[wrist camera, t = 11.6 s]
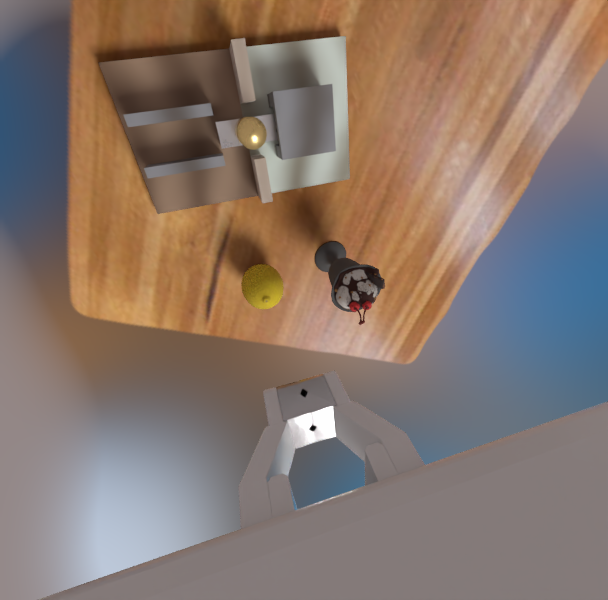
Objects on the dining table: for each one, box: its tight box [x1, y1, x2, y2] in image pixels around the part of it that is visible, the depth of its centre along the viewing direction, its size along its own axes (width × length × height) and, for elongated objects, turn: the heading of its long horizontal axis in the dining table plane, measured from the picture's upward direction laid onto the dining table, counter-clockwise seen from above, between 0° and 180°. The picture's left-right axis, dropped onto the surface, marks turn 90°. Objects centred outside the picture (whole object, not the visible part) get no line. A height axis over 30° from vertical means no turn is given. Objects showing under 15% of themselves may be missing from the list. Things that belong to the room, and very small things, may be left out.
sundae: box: [315, 242, 385, 325], centre depth 38 cm, size 7×7×15 cm
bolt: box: [215, 114, 278, 150], centre depth 30 cm, size 12×3×7 cm, turn 97°
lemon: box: [242, 264, 283, 309], centre depth 40 cm, size 6×6×8 cm
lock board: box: [99, 36, 350, 214], centre depth 31 cm, size 24×14×5 cm, turn 97°
